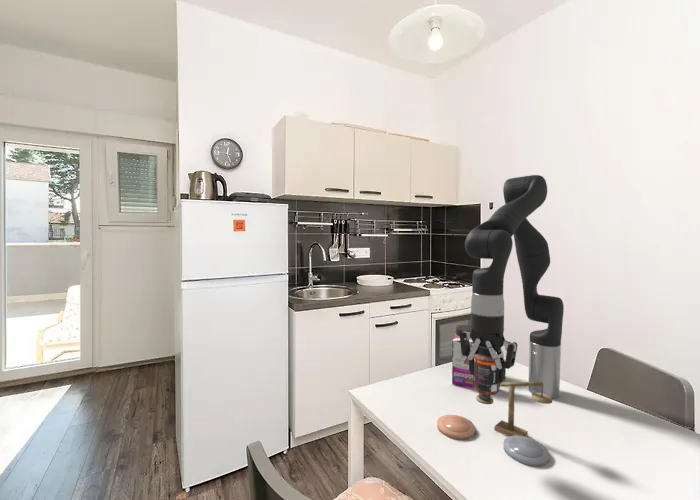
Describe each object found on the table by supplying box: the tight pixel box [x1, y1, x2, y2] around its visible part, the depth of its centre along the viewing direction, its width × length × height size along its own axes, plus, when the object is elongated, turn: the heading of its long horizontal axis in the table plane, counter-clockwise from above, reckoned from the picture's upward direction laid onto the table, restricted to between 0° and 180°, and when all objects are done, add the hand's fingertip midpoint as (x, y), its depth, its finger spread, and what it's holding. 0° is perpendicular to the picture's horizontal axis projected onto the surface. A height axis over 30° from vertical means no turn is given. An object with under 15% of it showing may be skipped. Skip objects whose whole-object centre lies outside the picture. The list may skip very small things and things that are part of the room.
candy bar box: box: [451, 336, 474, 389], centre depth 121 cm, size 11×5×16 cm, turn 68°
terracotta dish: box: [436, 414, 476, 440], centre depth 94 cm, size 10×10×1 cm
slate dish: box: [503, 436, 550, 467], centre depth 83 cm, size 10×10×1 cm
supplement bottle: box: [473, 346, 500, 396], centre depth 83 cm, size 6×6×11 cm
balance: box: [475, 381, 554, 437], centre depth 91 cm, size 5×20×17 cm, turn 41°
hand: (486, 378), depth 83 cm, fingers closed on supplement bottle, 6 cm apart
